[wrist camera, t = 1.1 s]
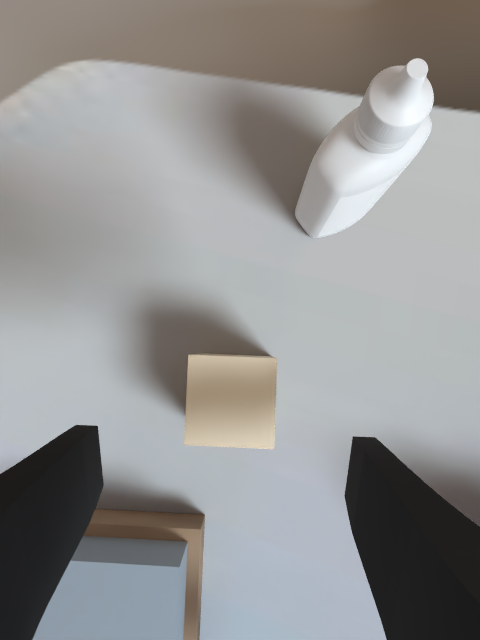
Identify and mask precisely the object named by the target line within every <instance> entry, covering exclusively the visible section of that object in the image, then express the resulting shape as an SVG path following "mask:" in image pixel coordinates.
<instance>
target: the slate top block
mask: <svg viewBox="0 0 480 640" xmlns="http://www.w3.org/2000/svg"><path fill="white" fill-rule="evenodd" d="M187 550H188V542H183V541H166V540H148V539H131V538H113V537H96V536H83V537H82V539H81V541H80V543H79V545H78V547H77V549H76V551H75V553H74V555H73V557H72V559H71V561H70V563H69V565H68V567H67V568H66V570H65V572H64V574H63V576H62V578H61V580H60V582H59V584H58V586H57V588H56V590H55V592H54V594H53V596H52V598H51V600H50V602H49V604H48V606H47V608H46V610H45V612H44V614H43V616H42V619H41V621H40V623H39V625H38V628H37V630H36V632H35V635H34V637H33V640H183V636H184V615H185V593H186V572H187Z"/></svg>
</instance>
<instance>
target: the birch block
mask: <svg viewBox="0 0 480 640" xmlns="http://www.w3.org/2000/svg"><path fill="white" fill-rule="evenodd" d="M276 374H277V358H275V357H272V356H252V355H227V354H191V355H188V372H187V393H186V413H185V434H184V445H194V446H216V447H238V448H259V449H274V437H275V406H276Z"/></svg>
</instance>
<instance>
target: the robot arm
mask: <svg viewBox="0 0 480 640" xmlns="http://www.w3.org/2000/svg"><path fill="white" fill-rule="evenodd" d="M102 488H103V475H102V465H101V455H100V445H99V435H98V426H87V425H76V426H74V427H72V428H71V429H69V430H67V431H66V432H64V433H63V434H61V435H60V436H58V437H57V438H55V439H54V440H52V441H51V442H49V443H48V444H46V445H45V446H43V447H42V448H40V449H39V450H37V451H36V452H34V453H33V454H31V455H30V456H28V457H26V458H25V459H23V460H22V461H20V462H19V463H17V464H16V465H14V466H13V467H11V468H10V469H8V470H6V471H5V472H3V473H1V474H0V640H33V637H34V635H35V632H36V630H37V628H38V625H39V623H40V621H41V619H42V616H43V614H44V612H45V610H46V608H47V606H48V604H49V602H50V600H51V598H52V596H53V594H54V592H55V590H56V588H57V586H58V584H59V582H60V580H61V578H62V576H63V574H64V572H65V570H66V568H67V567H68V565H69V563H70V561H71V559H72V557H73V555H74V553H75V551H76V549H77V547H78V545H79V543H80V541H81V539H82V537H83V535H84V533H85V531H86V529H87V527H88V525H89V523H90V521H91V518H92V516H93V513H94V511H95V508H96V505H97V502H98V500H99V497H100V494H101V491H102ZM345 500H346V505H347V511H348V516H349V520H350V525H351V530H352V534H353V537H354V540H355V543H356V546H357V549H358V552H359V555H360V558H361V561H362V564H363V567H364V570H365V573H366V576H367V579H368V582H369V585H370V588H371V591H372V594H373V597H374V600H375V603H376V606H377V609H378V612H379V615H380V618H381V621H382V625H383V628H384V631H385V635H386V638H387V640H480V527H479V526H478V525H476V524H475V523H474V522H472V521H471V520H470V519H468V518H467V517H466V516H464V515H463V514H462V513H461V512H459V511H458V510H457V509H456V508H454V507H453V506H452V505H451V504H449V503H448V502H447V501H446V500H444V499H443V498H442V497H441V496H440V495H439V494H437V493H436V492H435V491H434V490H433V489H431V488H430V487H429V486H428V485H427V484H426V483H425V482H423V481H422V480H421V479H420V478H419V477H418V476H417V475H416V474H414V473H413V472H412V471H411V470H410V469H409V468H408V467H407V466H406V465H405V464H404V463H402V462H401V461H400V460H399V459H398V458H397V457H396V456H395V455H394V454H393V453H392V452H391V451H390V450H388V449H387V448H386V447H385V446H384V445H383V444H382V443H381V442H380V441H378V440H377V439H376V438H375V437H353V440H352V447H351V454H350V462H349V469H348V476H347V483H346V490H345Z"/></svg>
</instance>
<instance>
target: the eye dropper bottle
mask: <svg viewBox="0 0 480 640" xmlns="http://www.w3.org/2000/svg"><path fill="white" fill-rule="evenodd" d="M427 72H428V66H427V64H426V62H425V61H423V60H422V59H413V60H411V61H410V62H409V63H408V64H407V65H406V66H393V67H389V68H387V69H385V70H382V72H380V73H379V74H377V75H376V76H375V77H374V79H372V82H371V83H370V85H369V87H368V89H367V91H366V94H365V96H364V98H363V100H362V102H361V105H360V106H359V107H358V108H356V109H354V110H353V111H352V112H350V113H349V114H348V115H346V116H345V117H344V118H343V119H342V120H341V121H340V122H339V123H338V124H337V125H336V126H335V127H334V128H333V129H332V130H331V131H330V133H329V134H328V135H327V136H326V138H325V139H324V140H323V142H322V143H321V145H320V146H319V148H318V150H317V152H316V153H315V155H314V157H313V159H312V162H311V164H310V167H309V170H308V172H307V175H306V178H305V181H304V184H303V187H302V190H301V194H300V197H299V200H298V203H297V206H296V209H295V216H296V219H297V220H298V222H299V223H300V224H301V226H302V227H303V228H304V230H305V231H306V232H307V234H308V235H309V236H311V237H312V238H322V237H326V236H330V235H333V234H336V233H338V232H340V231H342V230H344V229H346V228H348V227H350V226H351V225H353V224H354V223H356V222H357V221H358V220H359V219H361V218H362V217H363V216H364V215H365V214H366V213H367V212H368V211H369V210H370V209H371V208H372V207H373V205H374V204H375V203H376V202H377V201H378V200H379V198H380V197H381V196H382V195H383V194H384V193H385V191H386V190H387V189H388V188H389V187H390V186H391V184H392V183H393V182H394V181H395V180H396V179H397V177H398V176H399V175H400V174H401V173H402V172H403V170H404V169H405V168H406V167H407V166H408V164H409V163H410V162H411V161H412V160H413V158H414V157H415V156H416V155H417V153H418V152H419V151H420V149H421V148H422V146H423V145H424V143H425V142H426V140H427V138H428V136H429V134H430V132H431V126H432V122H431V119H430V116H429V115H428V114H429V113H430V111H431V109H432V106H433V100H434V98H433V96H434V95H433V89H432V86H431V84H430V82H429V80H428V79H427V78H426V75H427Z"/></svg>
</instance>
